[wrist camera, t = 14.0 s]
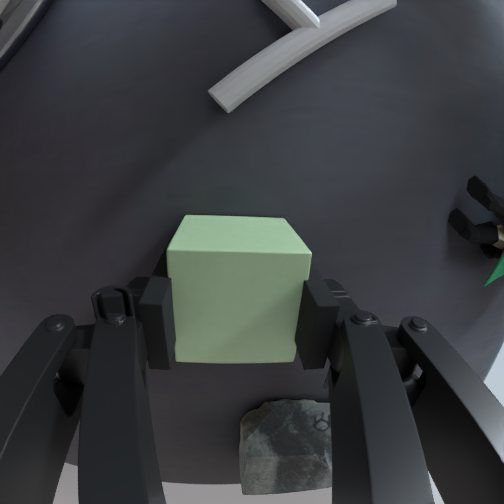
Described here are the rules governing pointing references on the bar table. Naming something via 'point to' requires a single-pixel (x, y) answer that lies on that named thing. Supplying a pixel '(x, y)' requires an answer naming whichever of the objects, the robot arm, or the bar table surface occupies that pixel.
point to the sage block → (236, 288)
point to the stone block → (286, 447)
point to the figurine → (483, 225)
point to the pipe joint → (293, 44)
